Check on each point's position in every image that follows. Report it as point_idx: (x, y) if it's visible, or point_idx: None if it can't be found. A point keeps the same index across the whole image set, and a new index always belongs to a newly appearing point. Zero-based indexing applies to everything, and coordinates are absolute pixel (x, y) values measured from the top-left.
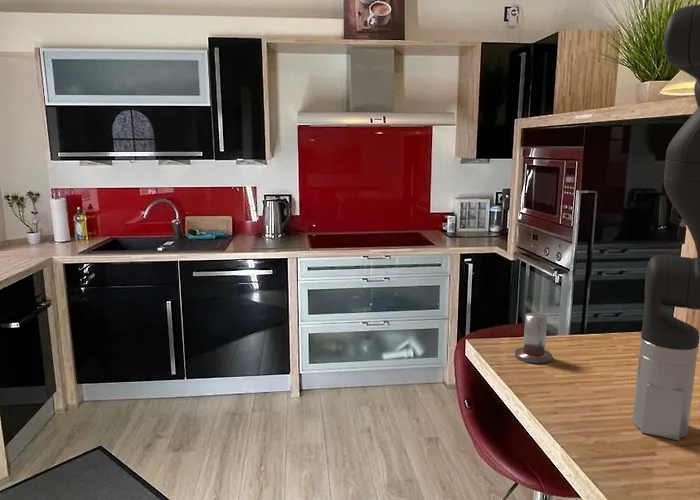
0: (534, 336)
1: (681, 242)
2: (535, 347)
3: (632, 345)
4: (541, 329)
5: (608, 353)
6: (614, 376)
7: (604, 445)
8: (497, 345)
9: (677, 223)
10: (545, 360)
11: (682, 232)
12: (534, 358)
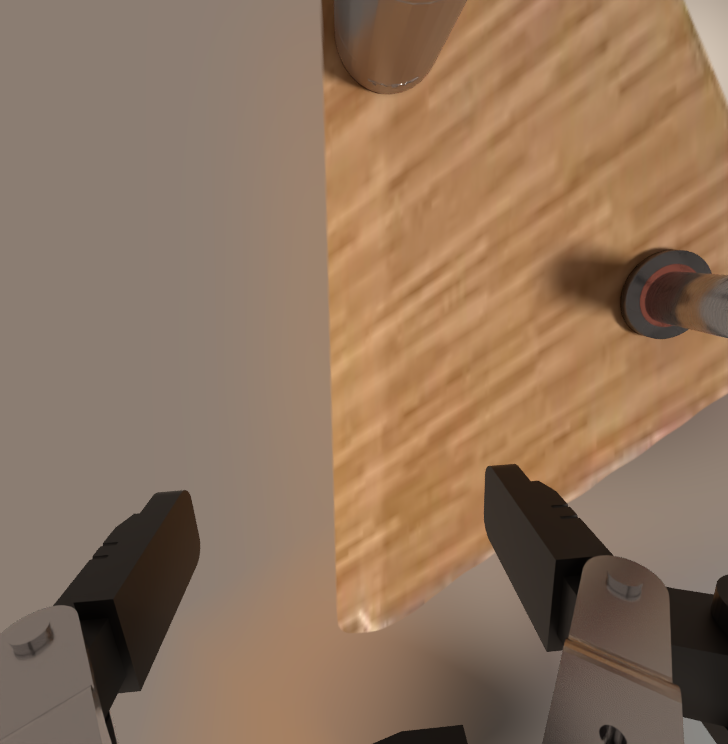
0: (716, 275)
1: (514, 466)
2: (686, 274)
3: (453, 498)
4: (718, 286)
5: (500, 420)
6: (484, 282)
7: None
8: None
9: (676, 601)
10: (639, 269)
11: (558, 519)
12: (666, 262)
